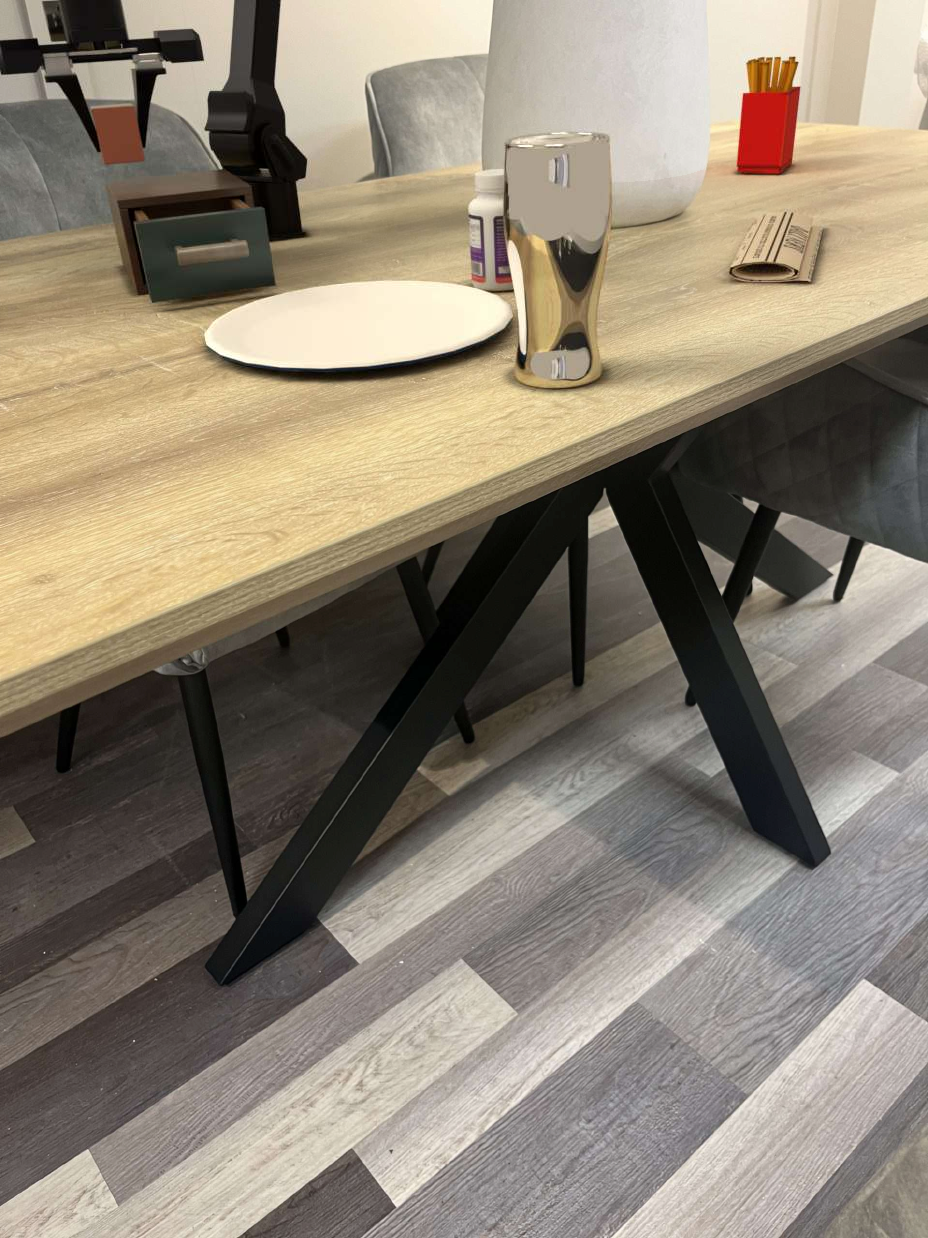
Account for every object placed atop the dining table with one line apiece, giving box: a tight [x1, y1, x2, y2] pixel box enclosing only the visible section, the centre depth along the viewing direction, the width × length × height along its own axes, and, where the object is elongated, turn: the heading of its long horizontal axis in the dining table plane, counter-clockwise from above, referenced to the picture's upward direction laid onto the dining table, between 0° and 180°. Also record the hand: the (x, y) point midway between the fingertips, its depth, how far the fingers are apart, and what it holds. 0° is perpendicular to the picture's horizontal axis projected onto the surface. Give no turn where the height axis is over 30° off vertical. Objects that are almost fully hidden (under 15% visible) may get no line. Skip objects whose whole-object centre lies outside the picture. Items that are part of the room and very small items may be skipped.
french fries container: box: [736, 56, 802, 174], centre depth 138 cm, size 7×9×14 cm
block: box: [89, 102, 146, 166], centre depth 99 cm, size 4×4×5 cm
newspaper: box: [727, 211, 824, 283], centre depth 97 cm, size 24×7×2 cm, turn 161°
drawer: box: [129, 196, 277, 304], centre depth 93 cm, size 18×11×7 cm, turn 22°
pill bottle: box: [467, 168, 514, 292], centre depth 90 cm, size 5×5×10 cm
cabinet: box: [104, 168, 254, 296], centre depth 102 cm, size 15×13×9 cm
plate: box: [203, 279, 514, 373], centre depth 81 cm, size 25×25×1 cm
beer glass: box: [503, 131, 613, 389], centre depth 65 cm, size 7×7×15 cm
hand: (121, 149), depth 100 cm, fingers closed on block, 4 cm apart
